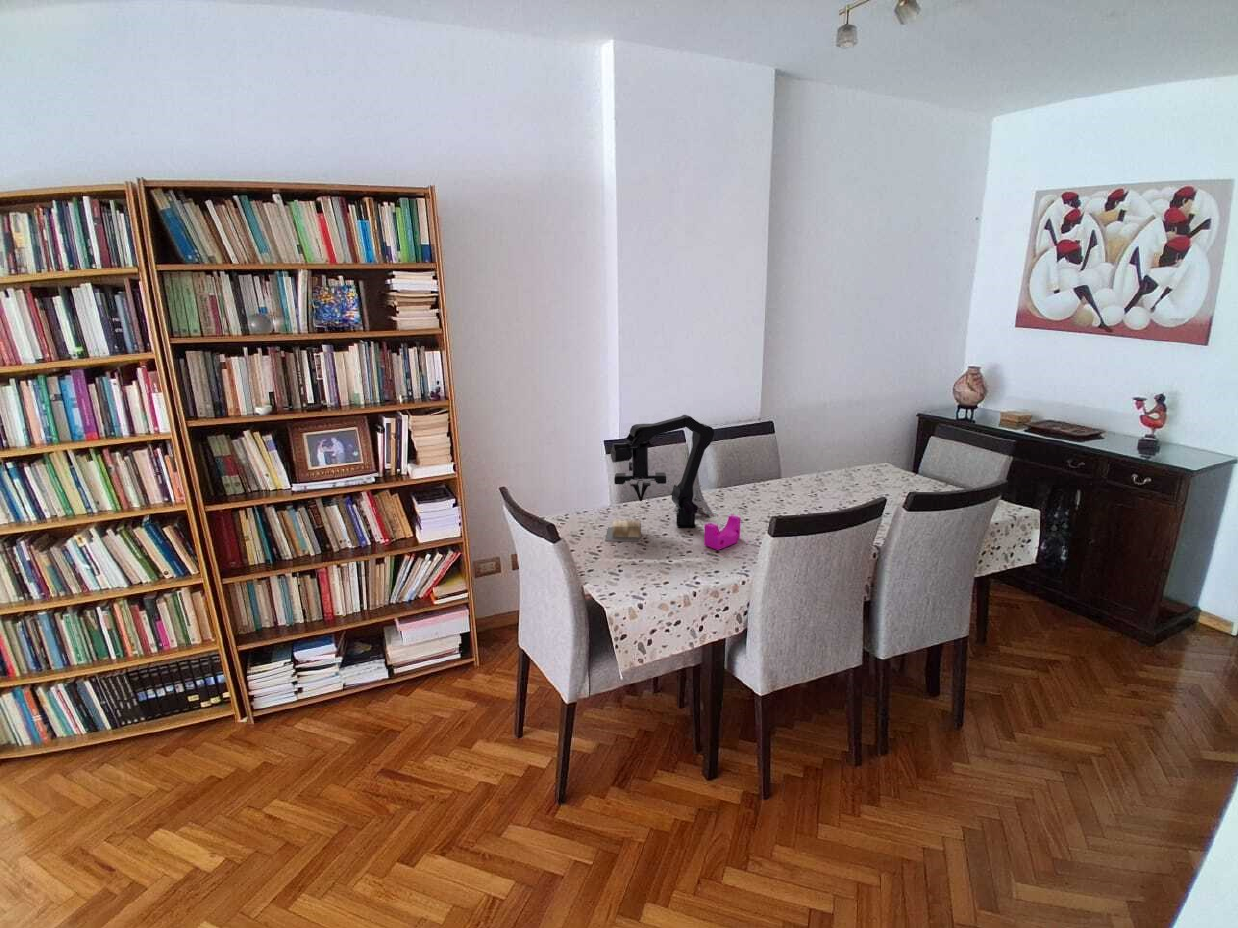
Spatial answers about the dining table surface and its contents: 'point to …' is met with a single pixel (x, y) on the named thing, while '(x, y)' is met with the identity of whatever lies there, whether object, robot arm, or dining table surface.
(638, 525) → the oak block
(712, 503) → the dining table surface
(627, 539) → the placemat
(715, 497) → the dining table surface
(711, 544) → the toy block
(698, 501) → the eiffel tower
